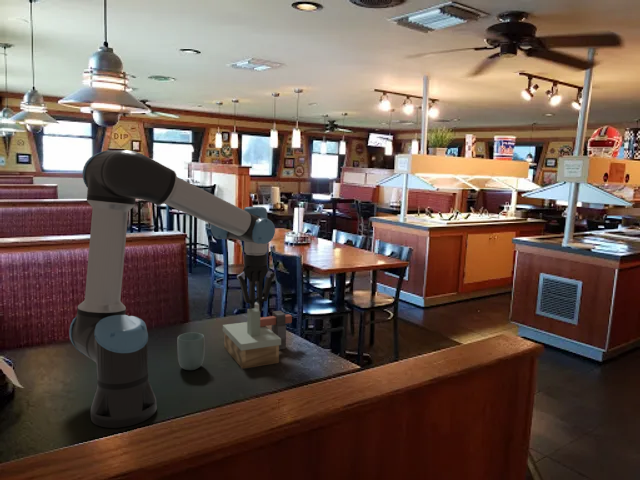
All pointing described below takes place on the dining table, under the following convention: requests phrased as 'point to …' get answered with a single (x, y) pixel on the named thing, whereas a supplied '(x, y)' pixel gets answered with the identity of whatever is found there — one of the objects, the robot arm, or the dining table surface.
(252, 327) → the lid
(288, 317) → the red bar
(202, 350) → the cup
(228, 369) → the dining table surface
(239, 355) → the wooden box
